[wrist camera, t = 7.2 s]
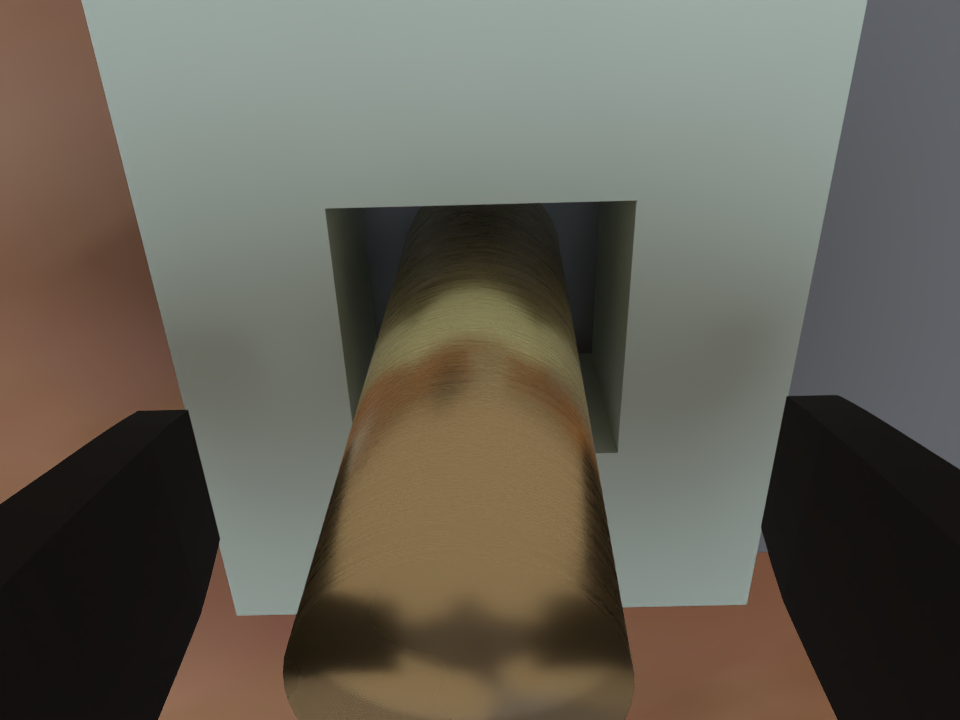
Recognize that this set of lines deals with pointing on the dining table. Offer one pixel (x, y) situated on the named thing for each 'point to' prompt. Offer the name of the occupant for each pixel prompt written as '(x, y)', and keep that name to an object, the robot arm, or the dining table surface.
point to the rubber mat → (842, 236)
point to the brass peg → (467, 501)
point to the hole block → (475, 181)
